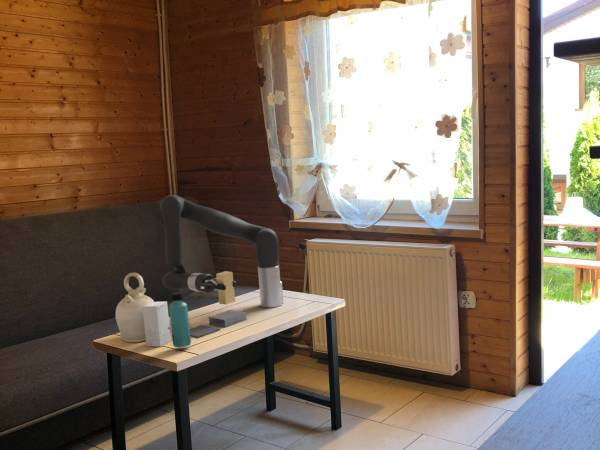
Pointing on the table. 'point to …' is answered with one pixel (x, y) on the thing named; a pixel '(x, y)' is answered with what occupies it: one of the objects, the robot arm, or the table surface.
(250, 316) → the table surface
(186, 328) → the beverage bottle
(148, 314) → the skincare box
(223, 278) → the tall wooden pillar
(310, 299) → the table surface
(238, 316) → the grey metal rectangular block
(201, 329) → the flat gray metal plate
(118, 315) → the jug
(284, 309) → the table surface
